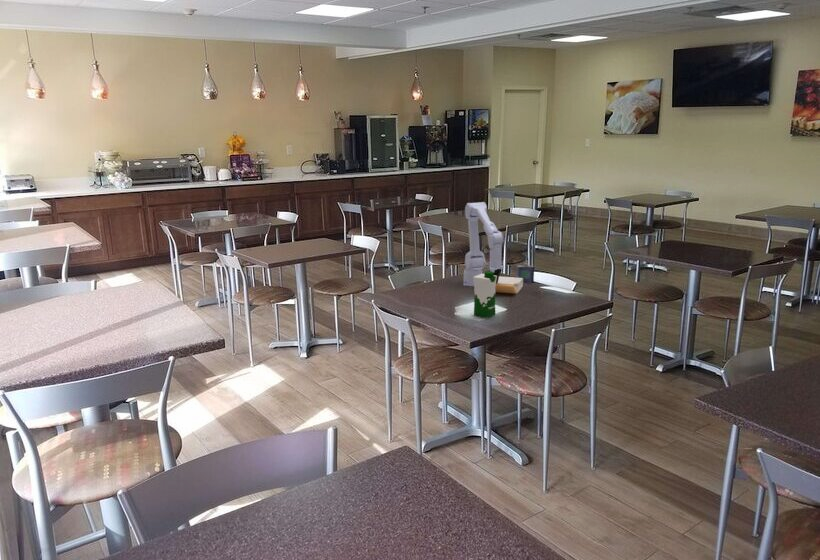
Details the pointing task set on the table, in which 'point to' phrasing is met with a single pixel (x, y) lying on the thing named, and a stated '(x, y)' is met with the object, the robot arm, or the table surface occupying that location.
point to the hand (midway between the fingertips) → (495, 283)
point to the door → (505, 288)
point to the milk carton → (484, 294)
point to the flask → (526, 273)
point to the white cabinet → (512, 282)
